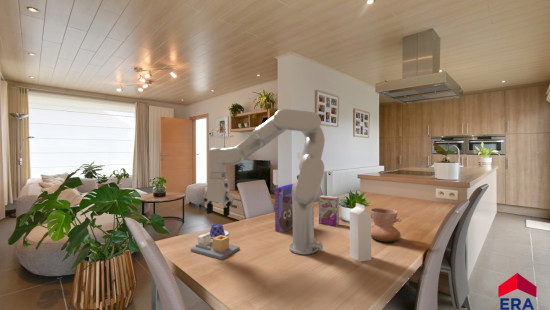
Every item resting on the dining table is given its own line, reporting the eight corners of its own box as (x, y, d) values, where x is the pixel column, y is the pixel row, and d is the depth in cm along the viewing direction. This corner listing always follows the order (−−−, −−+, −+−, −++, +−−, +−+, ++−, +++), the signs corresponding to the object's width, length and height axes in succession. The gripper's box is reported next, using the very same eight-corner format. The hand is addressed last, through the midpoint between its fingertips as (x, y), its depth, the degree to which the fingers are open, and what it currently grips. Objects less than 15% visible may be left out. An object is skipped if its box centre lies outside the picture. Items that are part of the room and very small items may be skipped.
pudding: (224, 239, 125) (224, 229, 125) (201, 238, 127) (201, 228, 126) (231, 231, 137) (231, 222, 137) (210, 231, 138) (210, 221, 138)
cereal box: (282, 232, 134) (282, 188, 133) (275, 231, 136) (274, 187, 136) (297, 224, 149) (296, 184, 148) (290, 223, 151) (289, 183, 151)
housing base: (239, 249, 112) (239, 237, 112) (221, 259, 101) (221, 247, 101) (210, 242, 121) (210, 231, 121) (190, 251, 110) (190, 239, 110)
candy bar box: (318, 223, 149) (318, 196, 149) (321, 221, 153) (321, 195, 153) (336, 226, 143) (336, 198, 143) (339, 224, 147) (339, 196, 147)
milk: (358, 262, 98) (358, 206, 97) (349, 255, 104) (349, 203, 103) (371, 259, 100) (371, 205, 99) (362, 253, 105) (361, 202, 105)
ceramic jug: (408, 240, 121) (407, 210, 121) (394, 247, 111) (394, 215, 112) (373, 231, 135) (372, 205, 135) (358, 237, 125) (358, 209, 125)
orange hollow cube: (229, 248, 110) (229, 236, 110) (221, 252, 106) (221, 240, 106) (220, 246, 113) (220, 235, 113) (212, 249, 108) (212, 238, 108)
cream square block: (210, 243, 115) (210, 234, 115) (203, 246, 112) (203, 236, 112) (204, 242, 117) (204, 232, 117) (197, 245, 114) (197, 235, 114)
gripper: (238, 176, 108) (238, 215, 109) (209, 174, 117) (209, 210, 117) (227, 177, 102) (227, 219, 102) (197, 175, 110) (197, 214, 111)
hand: (218, 214), depth 110 cm, fingers open, 9 cm apart
